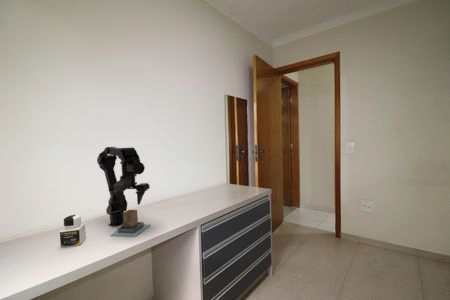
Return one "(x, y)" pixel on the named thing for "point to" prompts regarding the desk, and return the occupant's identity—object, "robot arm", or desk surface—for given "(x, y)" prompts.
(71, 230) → the medicine bottle
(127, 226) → the walnut peg
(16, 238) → the desk surface
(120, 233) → the socket holder
